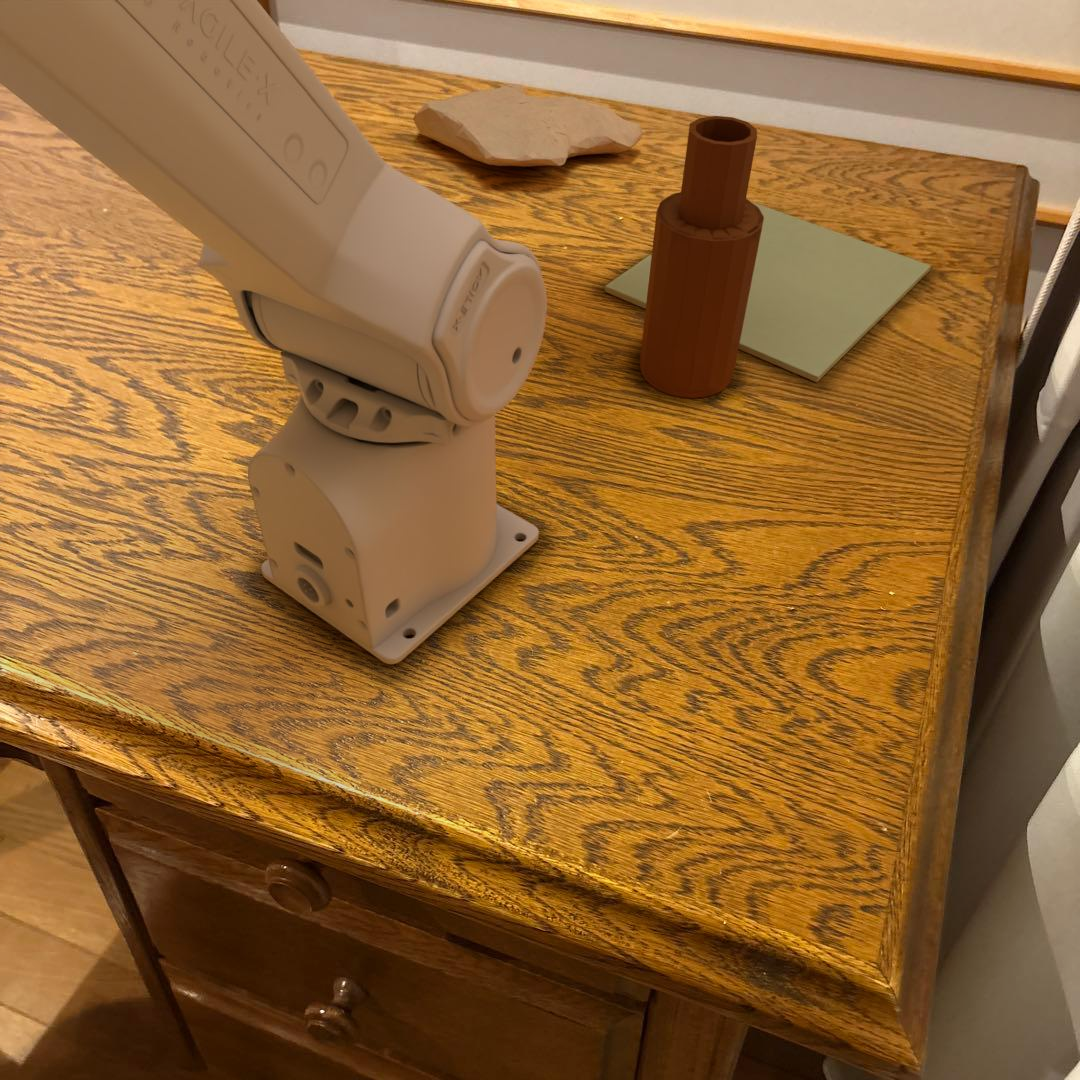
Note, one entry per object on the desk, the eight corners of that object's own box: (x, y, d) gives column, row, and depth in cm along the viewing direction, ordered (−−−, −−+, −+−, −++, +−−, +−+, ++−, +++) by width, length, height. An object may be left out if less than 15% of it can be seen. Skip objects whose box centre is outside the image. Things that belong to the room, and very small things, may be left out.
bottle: (701, 410, 51) (743, 165, 41) (621, 373, 53) (645, 131, 44) (750, 366, 54) (800, 127, 44) (672, 332, 56) (705, 98, 46)
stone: (669, 112, 67) (457, 130, 62) (664, 168, 69) (458, 189, 65) (584, 70, 78) (398, 82, 73) (582, 119, 80) (401, 134, 75)
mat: (816, 383, 53) (818, 376, 52) (604, 291, 59) (604, 285, 58) (929, 271, 61) (931, 265, 61) (733, 201, 67) (734, 195, 67)
